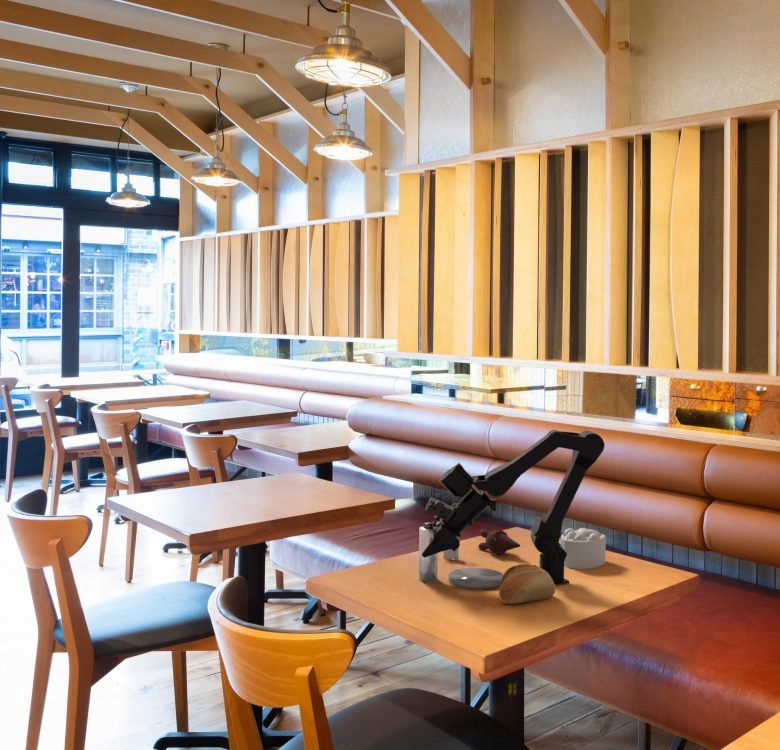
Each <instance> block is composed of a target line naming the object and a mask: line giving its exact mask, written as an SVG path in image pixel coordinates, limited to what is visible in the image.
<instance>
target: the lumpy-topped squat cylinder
mask: <svg viewBox="0 0 780 750" xmlns="http://www.w3.org/2000/svg"><path fill="white" fill-rule="evenodd" d="M606 541H607V536H606V535H605V534H603V533H600V531H598V530H595V529H589V528H586V527H581V528H578V529H576V530H575V529H574V528H572V527H569V528H567V529H565V530H564V533H561V535H560V544H561V546H562V547H563V548H564V550H565V551H566V553H567V556H566V558H565V561H564V568H568V569H576V570H577V569H579V570H580V569H583V570H584V569H585V570H586V569H594V568H598V567H601V566H602V565H604V564H605V563H606V553H607V550H606V548H607V547H606V546H607V544H606Z"/></svg>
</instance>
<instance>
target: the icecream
mask: <svg viewBox="0 0 780 750" xmlns="http://www.w3.org/2000/svg"><path fill="white" fill-rule="evenodd" d="M479 534H480V536H481V537H482V538H484V539H485V542H480V543H478V549H479V550H480V551H486V550H488V551H489V552H491V553H493V554H495V555H498V556H501V555H505V553H507V552H508V551H510V550H513V549H517V548H520V547H521V544H519V543H518V542H517V541H515V540H514V539H512V538H511V537H509V535H508V533H507V532H506V531H504V530H503V529H500V530H492V531H491V532H490V531H489V530H488V529H481V530H480V531H479Z"/></svg>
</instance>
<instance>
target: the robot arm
mask: <svg viewBox="0 0 780 750" xmlns="http://www.w3.org/2000/svg"><path fill="white" fill-rule="evenodd" d="M605 445H606V444H605V442H604V439H603V438H602V437H601V436H600V435H599V434H597V433H596V432H594V431H592V430H584V431H581V432H573V431H563V430H562V431H561V430H560V431H559V430H557V429H552V430H549V431H548V433H547V434H546V435H544V436H543V437H541V438H540V439H539V440H537V441H536V442H535V443H533V444H532V445H531V446H530V447H528V448H527V449H525V450H524V451H523V452H522V453H520V454H519V455H517V456H516V457H515V458H514V459H512V460H510V461H508V462H506V463H504V464H500V465H499V466H497V467H495V468H492V469H491V470H488V471H487V472H486V473H485V474H481V475H479V474H478V475H475V476H474V475H473V476H472V475H471V474H470V473H469V472H468V471H467V470H466V468H464V466H463V465H462V464H461V462H458V463H457V464H455V465H453V466H452V467H451V468H450V469H447V471H445V472H444V473H443V474H442V475H441V477H440V478H439V480H438V482H439V483H440V484H441V485H442V486H443V487H444V488H445V489H446V490H447V491H448V492H449V493H450V494H451V495H452V496H453V497H454V498H457V497H459V498H462V499H461V500H460V501H458V503H456V502H454V503H452V505H449V504H447V503H446V502H444V501H441V500H440V499H437V498H435V497H433V496H430V498H429V500H428V502H427V503H426V506H425V512H426V513H428V514H432V515H434V520H433V521H432V523H433V526H434V527H437V530H435V529H434V538H433V539H432V541H431V542H430V543H429V545H428V546H427V547H426V549H425V550H424V552H423V553H422V556H423V557H424V558H425V557H428V556H431V555H434V554H436V553H438V554H439V553H442V552H443V551H446V550H449V549H450V550H451V549H452V550H453V551H455V550H456V549H457V548H458V547H460V545H461V543H460V542H461V541H460V537H461V536H462V532H464V530H466V528H468V527H472V525H473V524H474V521H475V520H476V519H477V518H479V516H480V515H481V514H482V513H483V512H484V511H486V509H487V508H490V509H491V510H492V512H496V511H497V501H498V500H497V498H498V497H499V498H500V497H503V496H504V495H505V494H506V493H507V492H509V490H510V489H511V488H512V487H513V486H514V484H515V483H516V482H517V481H518V479H519V478H520V477H521V476H522V475H524V473H526V472H528V470H530V469H532V467H534V466H535V465H537V464H538V463H539V462H541V461H542V460H543V459H545V458H546V457H548V456H549V455H550V454H552V453H553V452H555V450H557V449H560V448H561V449H566V450H570V451H571V450H572V454H571V455H572V456H571V459H570V464H569V466H568V469H566V470H567V471H566V472H565V474H564V477H563V478H562V481H561V483H560V484H559V487H558V489H557V491H556V494H555V495H554V497H553V499H552V502H551V503H550V506H549V508H548V509H547V510H548V511H546V513H545V514H544V515H543V516H542V517H540V516H539V515H536V517H535V520H534V524H533V525H532V527H530V528H529V530H530V532H531V533H530V540H531V541H532V544H533V545H534V547H535V549H536V550H537V551H538V552H540V554H539V567H540V568H542V569H543V570H545V571H546V572H548V573H549V575H550V576H551V578H552V580H553V582H554V585H555V586H556V585H563V584H569V583H570V580H568V579H566V578H565V566H564V561H565V558H566V556H567V553H566V551H565V550H564V548H563V547H562V546H561V542H560V540H561V535H562V529H563V522H564V519H565V517H566V515H567V513H568V511H569V509H570V507H571V505H572V502H573V501H574V498H575V496H576V494H577V492H578V491H579V488H580V486H581V484H582V482H583V480H584V478H585V476H586V473H587V472H588V470H589V469H590V468H591V467H592V466H593V465H594V464H595V463H596V462H597V460H598V459H599V457H600V456H601V454H602V453H603V452H604V451H605V448H606V447H605ZM480 491H481V492H480ZM489 495H490V496H489ZM491 497H493V498H491ZM494 497H496V498H494ZM436 521H437V522H436Z"/></svg>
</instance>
